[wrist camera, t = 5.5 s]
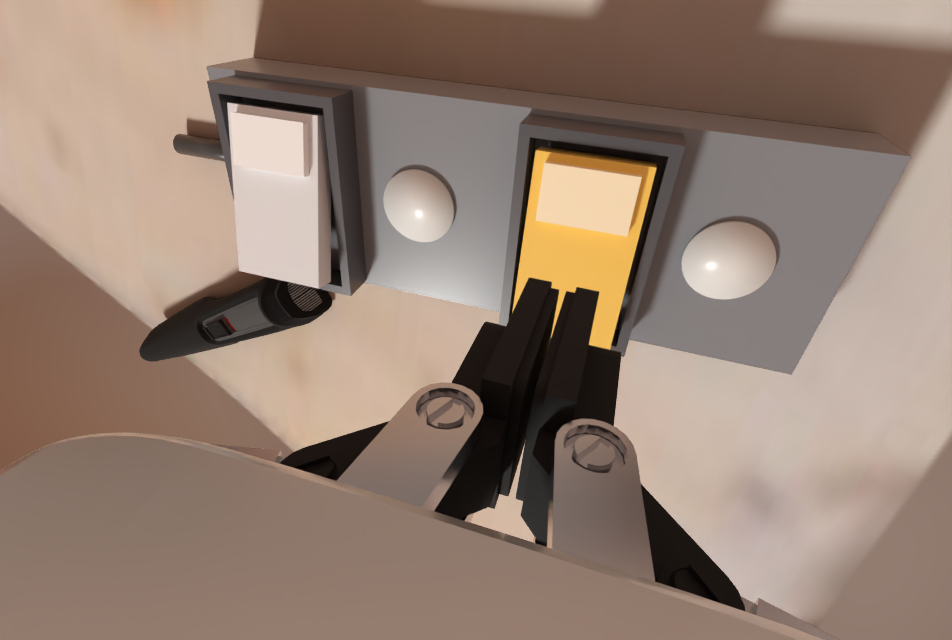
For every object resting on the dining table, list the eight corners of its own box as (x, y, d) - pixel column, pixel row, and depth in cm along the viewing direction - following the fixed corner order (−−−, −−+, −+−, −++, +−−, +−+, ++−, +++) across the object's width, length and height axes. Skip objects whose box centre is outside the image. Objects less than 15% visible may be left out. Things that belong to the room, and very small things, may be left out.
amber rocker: (610, 339, 20) (609, 355, 19) (515, 318, 21) (508, 333, 20) (655, 162, 17) (656, 169, 16) (540, 146, 18) (534, 151, 17)
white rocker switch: (330, 282, 23) (314, 291, 22) (253, 265, 24) (233, 273, 22) (331, 116, 20) (312, 115, 19) (244, 103, 21) (220, 102, 20)
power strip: (777, 334, 23) (800, 400, 20) (208, 219, 30) (145, 253, 26) (878, 133, 18) (933, 172, 14) (163, 46, 24) (76, 58, 21)
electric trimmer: (156, 311, 36) (118, 336, 34) (305, 251, 29) (271, 277, 27) (190, 352, 38) (156, 379, 36) (340, 305, 31) (311, 335, 28)
